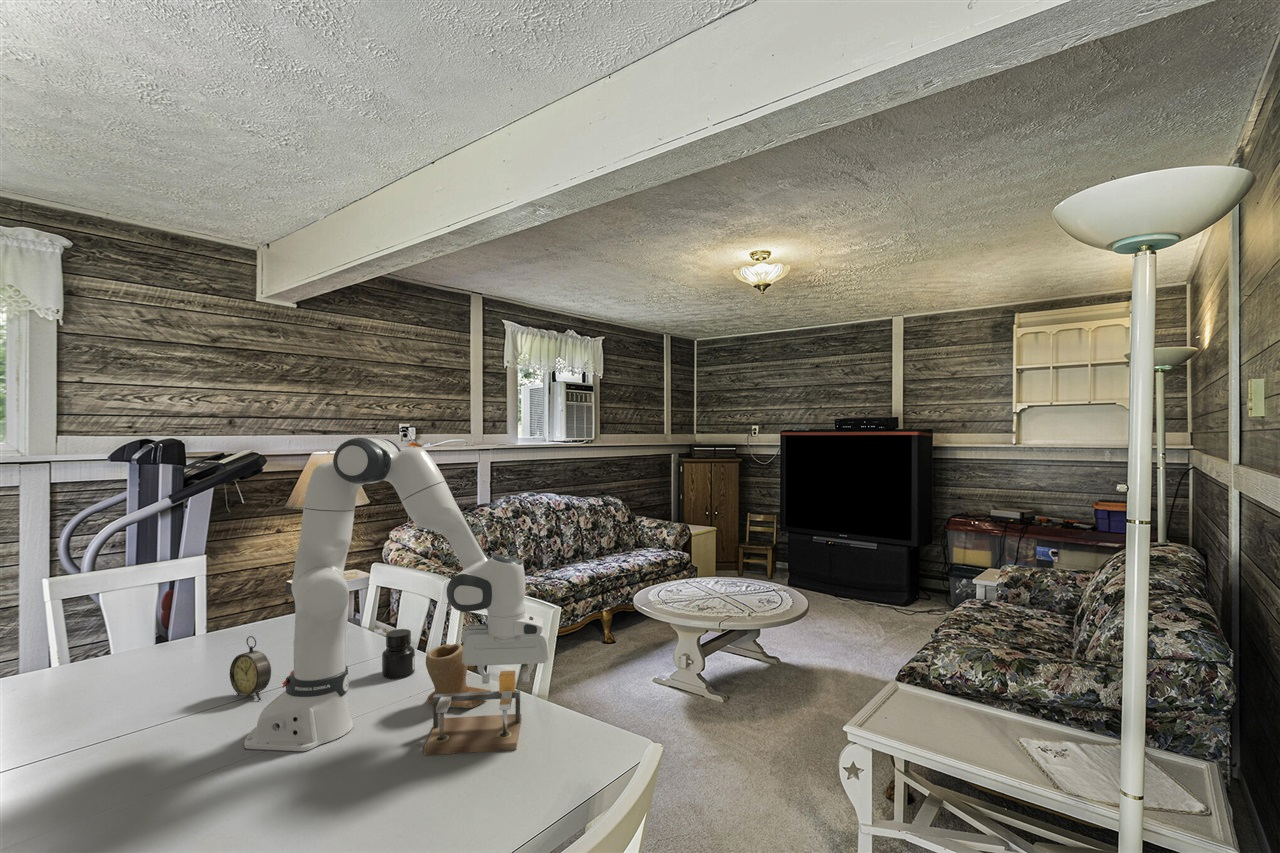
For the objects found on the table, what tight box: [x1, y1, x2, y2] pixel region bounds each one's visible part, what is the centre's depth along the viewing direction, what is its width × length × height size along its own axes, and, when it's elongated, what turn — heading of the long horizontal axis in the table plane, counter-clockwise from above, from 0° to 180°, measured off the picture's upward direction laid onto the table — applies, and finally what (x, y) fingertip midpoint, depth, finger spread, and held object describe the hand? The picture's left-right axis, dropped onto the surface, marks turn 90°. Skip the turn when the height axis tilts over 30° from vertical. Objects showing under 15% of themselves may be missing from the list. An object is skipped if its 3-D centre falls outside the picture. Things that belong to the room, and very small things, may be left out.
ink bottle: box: [381, 628, 416, 680], centre depth 180 cm, size 10×9×12 cm
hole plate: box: [423, 689, 522, 756], centre depth 143 cm, size 20×14×9 cm
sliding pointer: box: [498, 670, 517, 734], centre depth 145 cm, size 4×8×11 cm, turn 6°
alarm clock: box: [229, 635, 272, 701], centre depth 165 cm, size 11×5×16 cm, turn 68°
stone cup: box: [425, 643, 492, 709], centre depth 160 cm, size 15×12×15 cm
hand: (506, 681), depth 147 cm, fingers open, 8 cm apart
